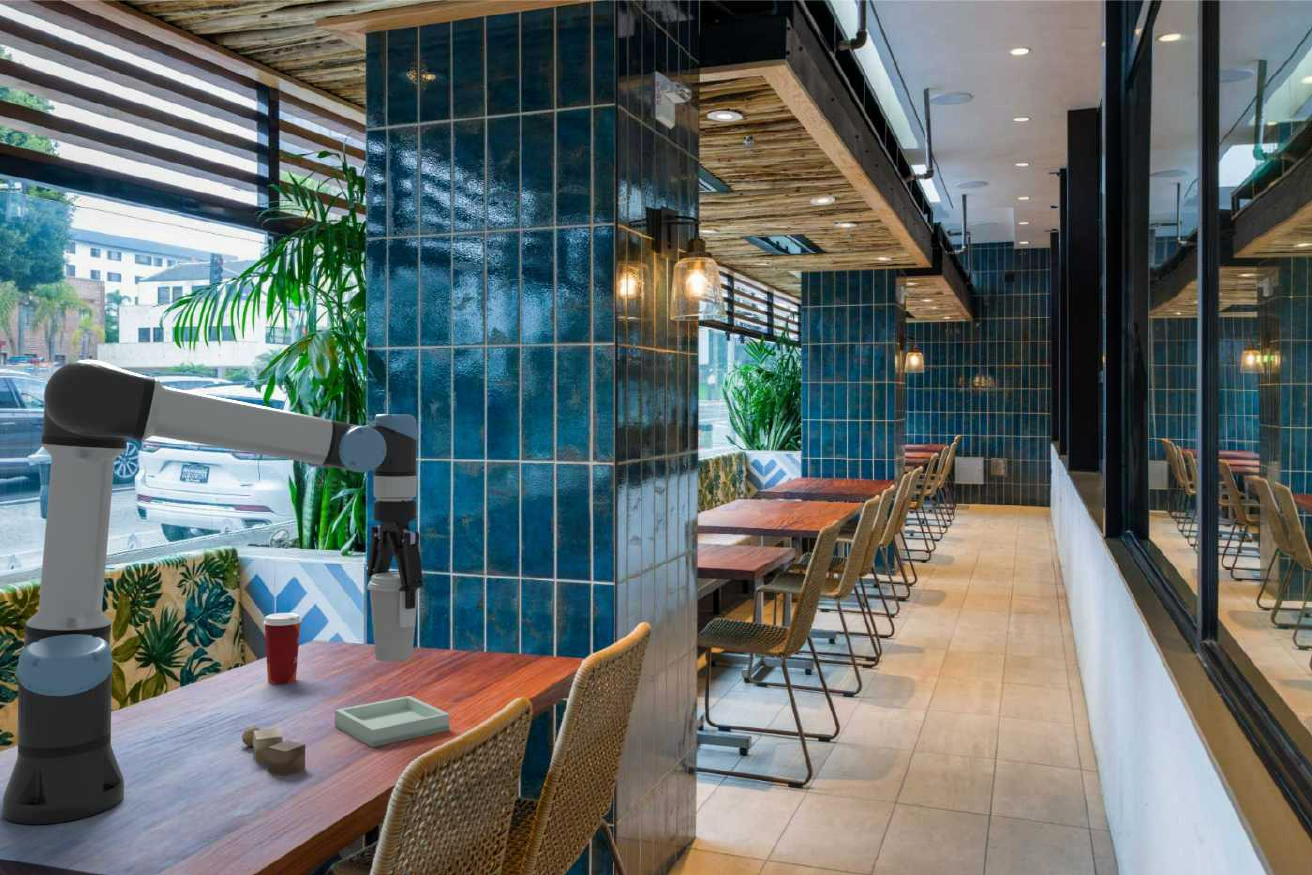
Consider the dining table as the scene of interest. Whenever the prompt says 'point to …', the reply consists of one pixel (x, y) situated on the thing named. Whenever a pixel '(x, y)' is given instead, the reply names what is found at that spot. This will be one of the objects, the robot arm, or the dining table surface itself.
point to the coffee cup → (389, 619)
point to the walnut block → (286, 758)
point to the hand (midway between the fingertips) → (393, 621)
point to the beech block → (265, 743)
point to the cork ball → (249, 736)
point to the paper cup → (282, 646)
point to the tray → (391, 721)
